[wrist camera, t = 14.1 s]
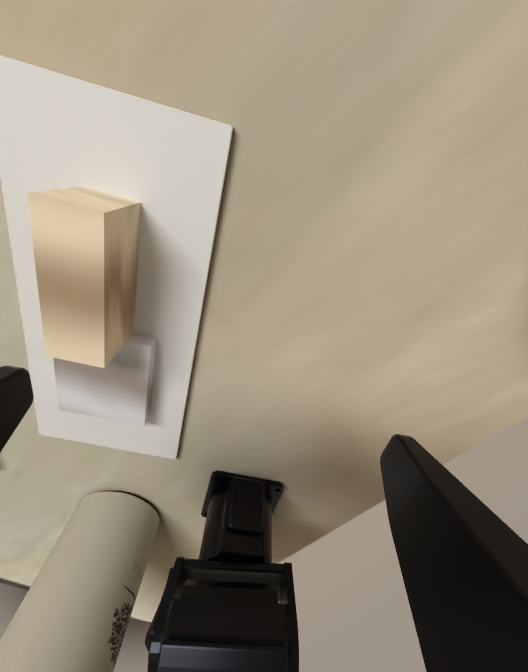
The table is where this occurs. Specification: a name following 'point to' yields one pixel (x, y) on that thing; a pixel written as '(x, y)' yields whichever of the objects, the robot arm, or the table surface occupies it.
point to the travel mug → (84, 589)
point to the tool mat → (154, 232)
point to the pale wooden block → (92, 302)
